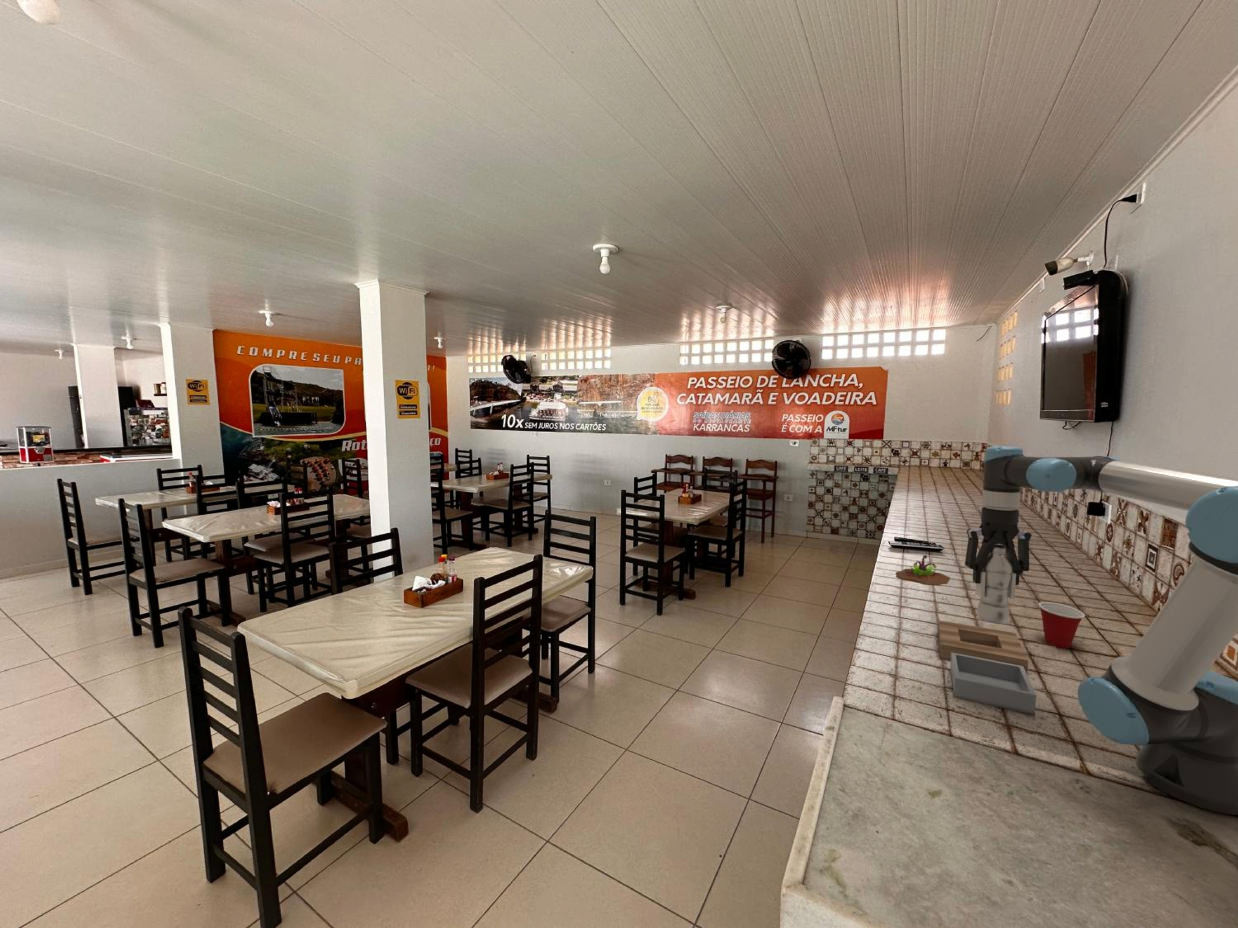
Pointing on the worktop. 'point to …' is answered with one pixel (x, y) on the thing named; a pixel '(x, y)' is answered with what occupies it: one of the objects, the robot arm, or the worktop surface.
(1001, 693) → the slate tray
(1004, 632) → the walnut frame
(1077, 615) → the plastic cup
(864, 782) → the worktop surface
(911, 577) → the plant
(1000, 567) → the plastic bottle
